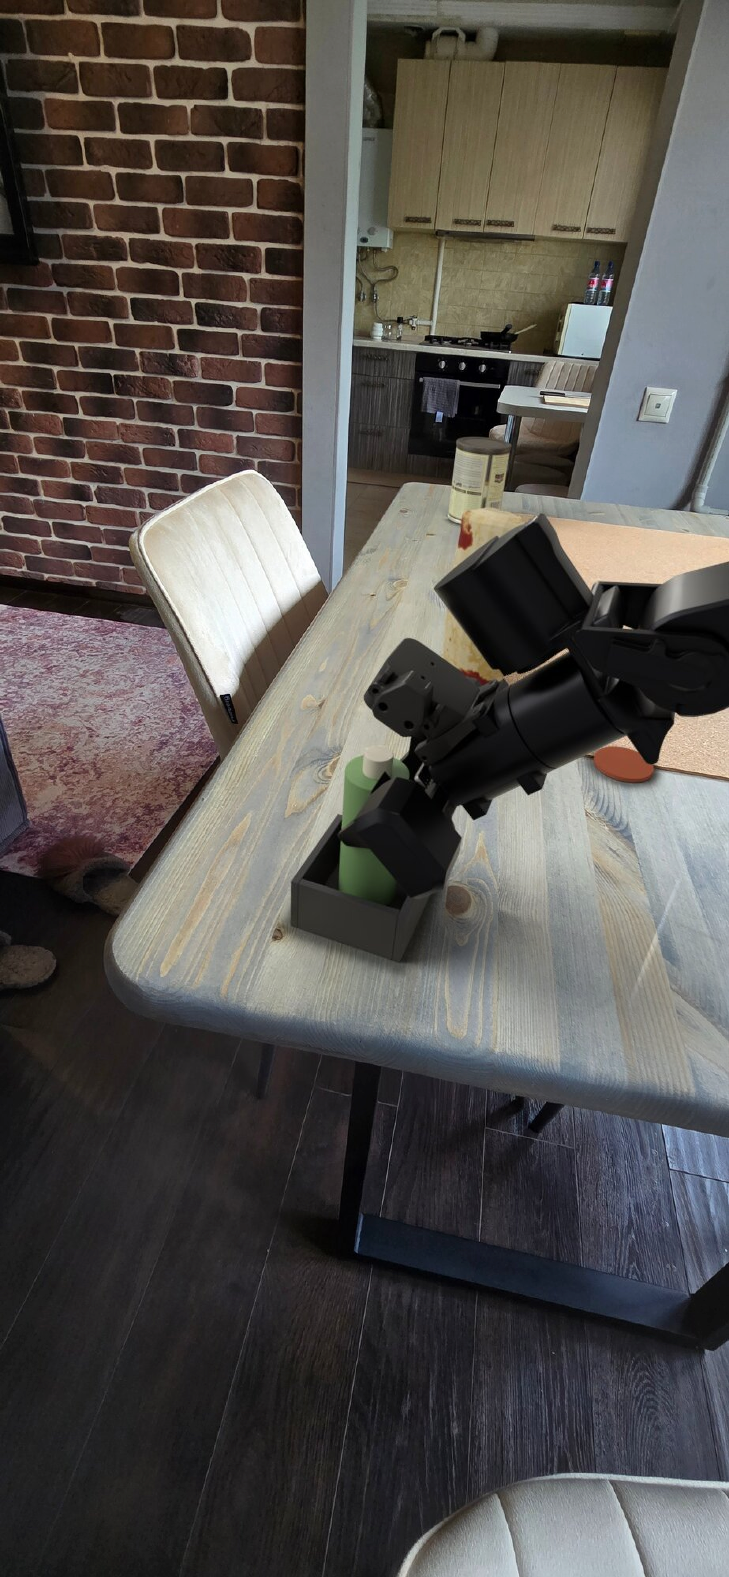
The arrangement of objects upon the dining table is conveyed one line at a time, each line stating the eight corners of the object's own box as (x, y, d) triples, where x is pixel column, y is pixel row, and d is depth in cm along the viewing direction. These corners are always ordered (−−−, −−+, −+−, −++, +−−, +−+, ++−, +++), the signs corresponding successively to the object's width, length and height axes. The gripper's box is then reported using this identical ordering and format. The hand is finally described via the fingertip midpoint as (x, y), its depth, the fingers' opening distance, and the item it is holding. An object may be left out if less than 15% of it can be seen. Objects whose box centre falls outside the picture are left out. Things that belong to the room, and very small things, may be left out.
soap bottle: (406, 884, 57) (423, 749, 50) (376, 918, 54) (390, 779, 47) (357, 862, 59) (368, 728, 51) (327, 894, 56) (333, 756, 48)
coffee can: (455, 508, 151) (465, 434, 143) (504, 517, 149) (517, 441, 140) (440, 521, 144) (449, 442, 135) (491, 530, 141) (504, 451, 133)
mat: (658, 762, 78) (660, 758, 77) (644, 789, 73) (645, 785, 73) (603, 744, 80) (604, 740, 80) (586, 769, 76) (587, 765, 75)
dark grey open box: (433, 888, 60) (441, 843, 57) (399, 965, 53) (405, 918, 50) (335, 858, 62) (337, 813, 59) (290, 927, 55) (290, 881, 53)
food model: (426, 670, 91) (447, 503, 80) (459, 655, 96) (484, 494, 84) (490, 700, 86) (523, 527, 74) (522, 682, 90) (558, 516, 79)
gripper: (494, 566, 49) (335, 678, 58) (405, 684, 35) (213, 808, 44) (585, 697, 52) (419, 784, 61) (537, 857, 37) (330, 939, 47)
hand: (354, 820), depth 53 cm, fingers closed on soap bottle, 4 cm apart
